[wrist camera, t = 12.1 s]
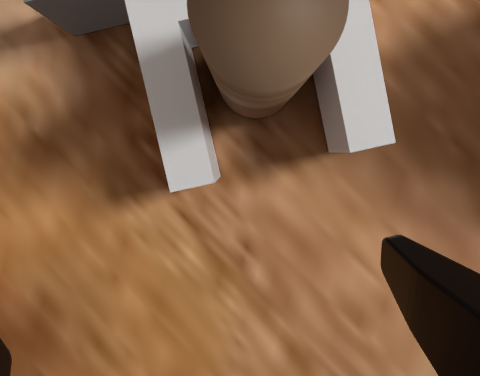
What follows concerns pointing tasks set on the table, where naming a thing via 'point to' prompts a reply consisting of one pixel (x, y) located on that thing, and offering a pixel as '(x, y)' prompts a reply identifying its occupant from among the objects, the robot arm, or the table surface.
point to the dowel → (264, 47)
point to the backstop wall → (82, 14)
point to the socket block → (192, 105)
